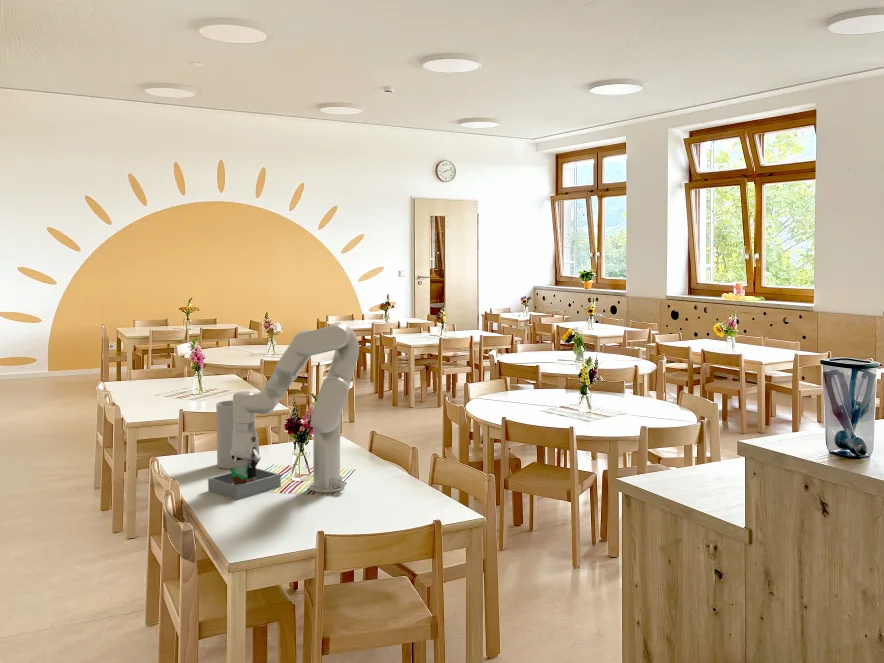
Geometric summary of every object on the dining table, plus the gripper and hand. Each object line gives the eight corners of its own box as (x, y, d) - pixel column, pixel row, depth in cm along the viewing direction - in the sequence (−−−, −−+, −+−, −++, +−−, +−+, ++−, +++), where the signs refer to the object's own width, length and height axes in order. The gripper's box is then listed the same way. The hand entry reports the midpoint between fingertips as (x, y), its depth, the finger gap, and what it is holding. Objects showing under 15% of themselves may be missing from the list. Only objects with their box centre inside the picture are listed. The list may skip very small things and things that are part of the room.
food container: (247, 489, 274) (243, 460, 274) (232, 490, 276) (228, 462, 276) (266, 480, 286) (261, 452, 286) (251, 481, 288) (247, 454, 288)
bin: (280, 486, 285) (280, 474, 285) (236, 499, 269) (236, 486, 269) (252, 478, 294) (252, 466, 294) (208, 490, 279) (208, 478, 278)
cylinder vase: (256, 464, 314) (255, 402, 312) (232, 471, 304) (231, 407, 301) (235, 459, 321) (234, 399, 318) (210, 466, 311) (209, 403, 308)
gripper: (268, 428, 277) (269, 478, 279) (237, 421, 288) (238, 469, 290) (251, 431, 272) (252, 482, 273) (220, 425, 282) (221, 474, 284)
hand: (245, 475), depth 281 cm, fingers closed on food container, 6 cm apart
